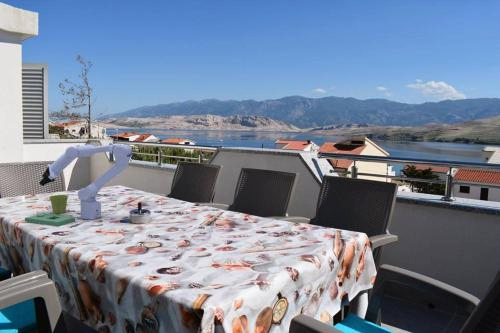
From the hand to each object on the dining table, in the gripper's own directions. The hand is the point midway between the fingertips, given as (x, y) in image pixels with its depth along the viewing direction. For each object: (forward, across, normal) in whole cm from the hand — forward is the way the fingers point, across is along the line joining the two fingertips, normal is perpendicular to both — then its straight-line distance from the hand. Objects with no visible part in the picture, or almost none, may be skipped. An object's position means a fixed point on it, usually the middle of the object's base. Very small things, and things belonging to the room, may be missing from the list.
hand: (42, 180), depth 201 cm
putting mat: (+4, +20, +12) cm, 23 cm away
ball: (+6, +15, +7) cm, 18 cm away
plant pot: (+9, +1, +18) cm, 20 cm away
